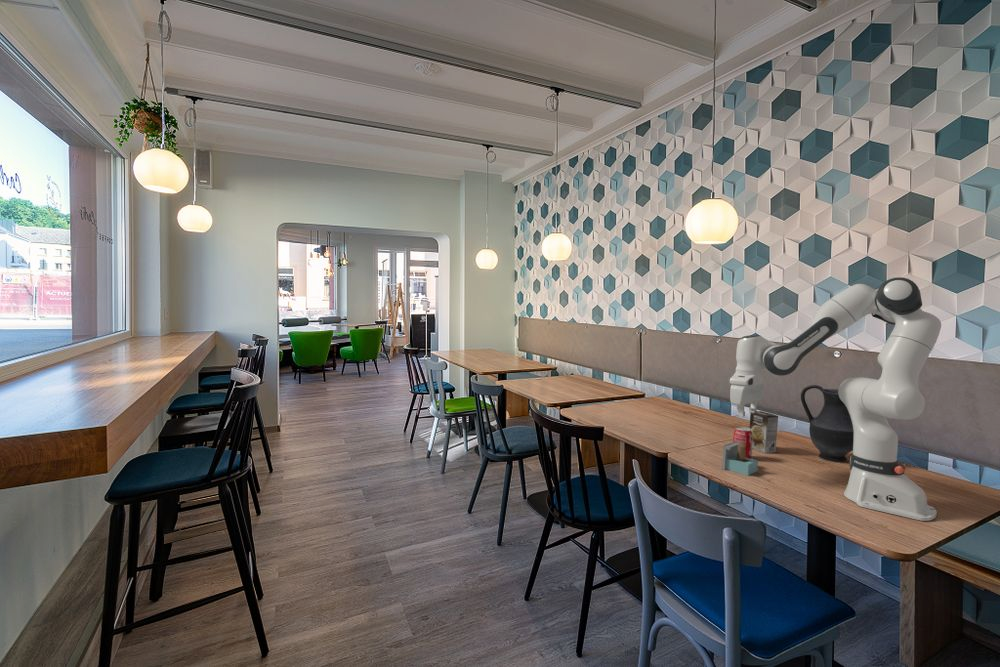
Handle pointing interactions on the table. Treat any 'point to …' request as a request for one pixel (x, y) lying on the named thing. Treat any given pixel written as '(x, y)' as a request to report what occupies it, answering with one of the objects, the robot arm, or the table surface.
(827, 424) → the pitcher
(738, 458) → the peg
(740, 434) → the soda can
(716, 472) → the table surface
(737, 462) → the socket station
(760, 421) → the coffee box
